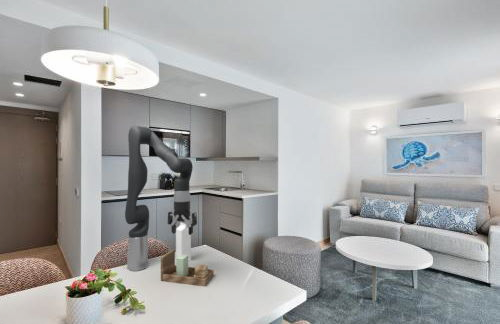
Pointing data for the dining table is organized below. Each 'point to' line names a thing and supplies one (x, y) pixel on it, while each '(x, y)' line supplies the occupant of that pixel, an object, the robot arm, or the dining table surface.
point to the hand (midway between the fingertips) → (182, 233)
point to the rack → (171, 276)
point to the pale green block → (182, 265)
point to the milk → (183, 241)
